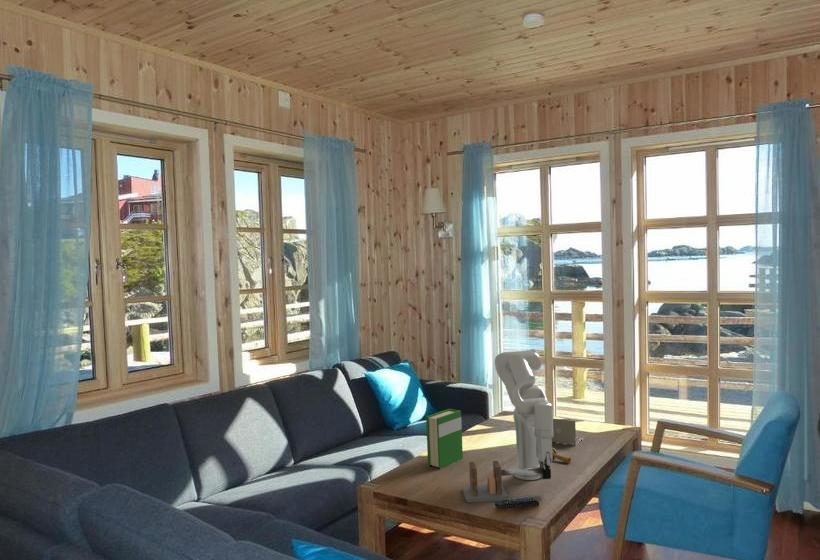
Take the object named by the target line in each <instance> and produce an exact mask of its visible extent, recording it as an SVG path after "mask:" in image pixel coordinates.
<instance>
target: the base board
mask: <svg viewBox="0 0 820 560" xmlns="http://www.w3.org/2000/svg"><path fill="white" fill-rule="evenodd" d="M461 491H462V493H463V496H464V499H466V500H465V503H466V502H468V503H484V502H485V503H487V502H488V503H489V502H503V501H502V500H508V501H509V495H508V493H507V491H506V489H505V487H504V485H503V484H502V494H498V495H497V493H496V494H490V493H489V491H488V484H485V485H484V484H483V485H482V484H481V485H477V491H478V496H473V495H472V492H471V489H470V485H467V486H466V485H465V486H464V485H462V490H461ZM468 503H467V504H468Z"/></svg>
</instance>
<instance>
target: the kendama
mask: <svg viewBox="0 0 820 560" xmlns="http://www.w3.org/2000/svg"><path fill="white" fill-rule="evenodd" d="M552 455H553V459H557V460H559V461H562V462H564V463H566V464H568V463H569V464H570V463H571V461H572V459H571V456H567V455H566V456H565V455H563V454H558V452H557V450H556V448H554V447H552Z"/></svg>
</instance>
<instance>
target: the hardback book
mask: <svg viewBox="0 0 820 560" xmlns="http://www.w3.org/2000/svg"><path fill="white" fill-rule="evenodd" d="M425 420H426V421H425V424H426V427H425V428H426V444H427V445H426V450H427V467H428V466H430V465H432V466H430V467H436V468H438V469H439V468H443V467H445V466H447V465H449V466H451V465H450V464H452V463H454V462H456V463H458V462H459V461H458V460H461V459H464V454H463V427H462V410H458V409H453V408H448V409H444V410H441V411H438V412H435V413H432V414H429V415H426V416H425ZM457 461H458V462H457ZM461 461H462V460H461ZM454 464H455V463H454ZM452 465H453V464H452ZM447 467H448V466H447ZM445 468H446V467H445ZM443 469H444V468H443Z"/></svg>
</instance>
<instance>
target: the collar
mask: <svg viewBox="0 0 820 560" xmlns="http://www.w3.org/2000/svg"><path fill="white" fill-rule="evenodd" d="M486 477H487V478H486V480H487V485H488V491H489V493H490V494H496V486H495V478H494V474H493V473H488V474H486Z"/></svg>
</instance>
